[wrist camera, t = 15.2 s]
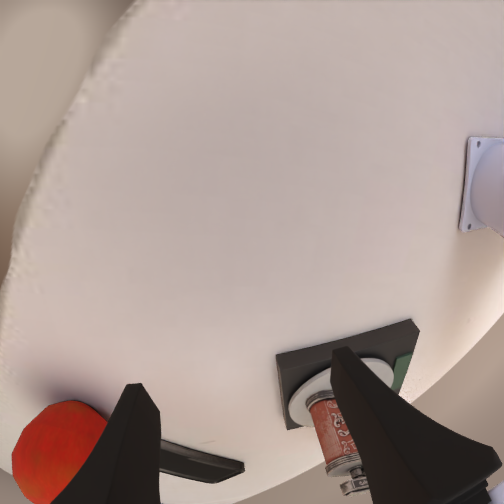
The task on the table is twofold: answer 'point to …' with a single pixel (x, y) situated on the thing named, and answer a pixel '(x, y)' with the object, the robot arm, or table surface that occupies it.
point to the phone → (196, 464)
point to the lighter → (336, 442)
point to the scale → (319, 366)
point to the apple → (55, 449)
